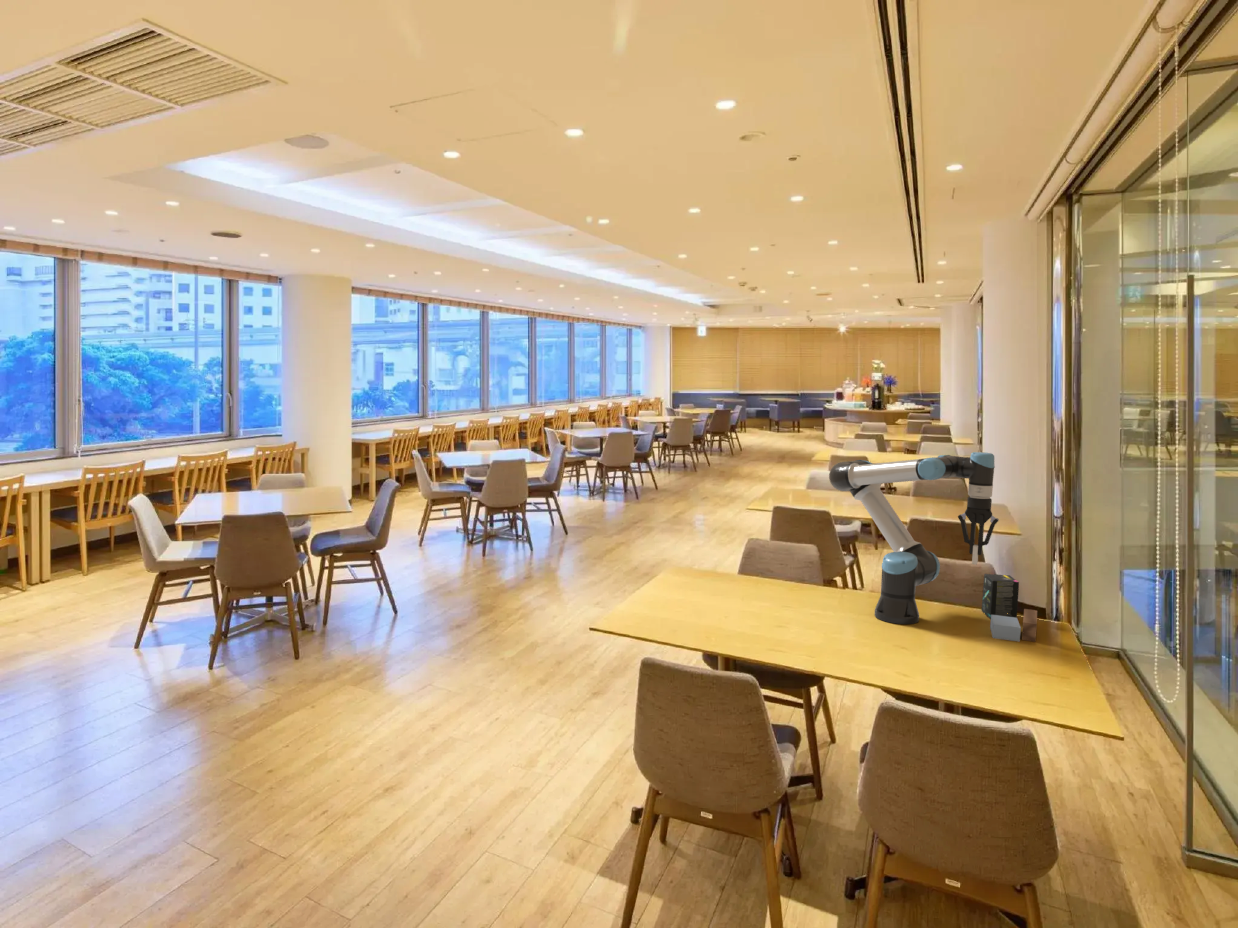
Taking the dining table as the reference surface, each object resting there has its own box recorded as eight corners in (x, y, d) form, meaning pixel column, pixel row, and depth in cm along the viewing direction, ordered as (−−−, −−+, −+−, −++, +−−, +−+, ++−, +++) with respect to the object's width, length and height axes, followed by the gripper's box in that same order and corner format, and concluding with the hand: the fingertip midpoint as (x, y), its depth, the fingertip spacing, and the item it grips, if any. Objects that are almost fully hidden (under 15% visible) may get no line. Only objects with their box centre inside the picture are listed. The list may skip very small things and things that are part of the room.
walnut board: (1021, 639, 244) (1023, 622, 244) (1022, 625, 260) (1024, 608, 259) (1035, 641, 242) (1036, 624, 242) (1035, 627, 258) (1037, 610, 257)
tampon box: (1017, 621, 264) (1020, 581, 262) (989, 619, 266) (992, 580, 264) (1007, 612, 275) (1010, 574, 273) (981, 610, 276) (983, 572, 275)
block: (992, 638, 245) (993, 624, 245) (990, 628, 256) (991, 614, 256) (1019, 642, 242) (1020, 627, 242) (1015, 631, 253) (1016, 617, 253)
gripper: (957, 496, 254) (952, 562, 256) (999, 500, 247) (994, 568, 249) (960, 493, 260) (956, 558, 262) (1002, 497, 253) (996, 564, 255)
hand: (974, 563), depth 256 cm, fingers closed
